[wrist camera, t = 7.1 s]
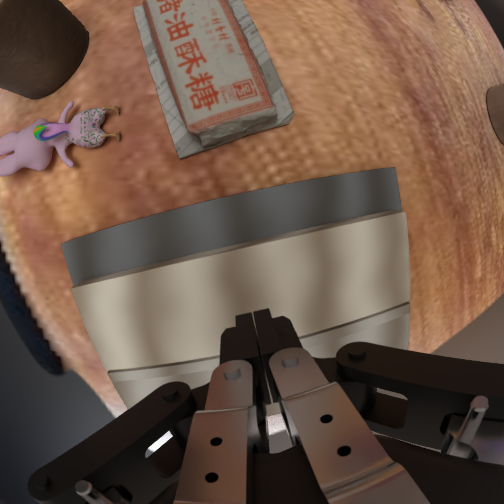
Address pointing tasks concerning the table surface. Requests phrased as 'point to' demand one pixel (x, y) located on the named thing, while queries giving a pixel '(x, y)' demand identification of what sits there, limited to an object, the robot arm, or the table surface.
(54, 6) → the pillar candle
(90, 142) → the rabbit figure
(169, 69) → the packaged product
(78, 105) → the table surface
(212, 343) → the loose plank
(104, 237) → the floor section
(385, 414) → the robot arm
